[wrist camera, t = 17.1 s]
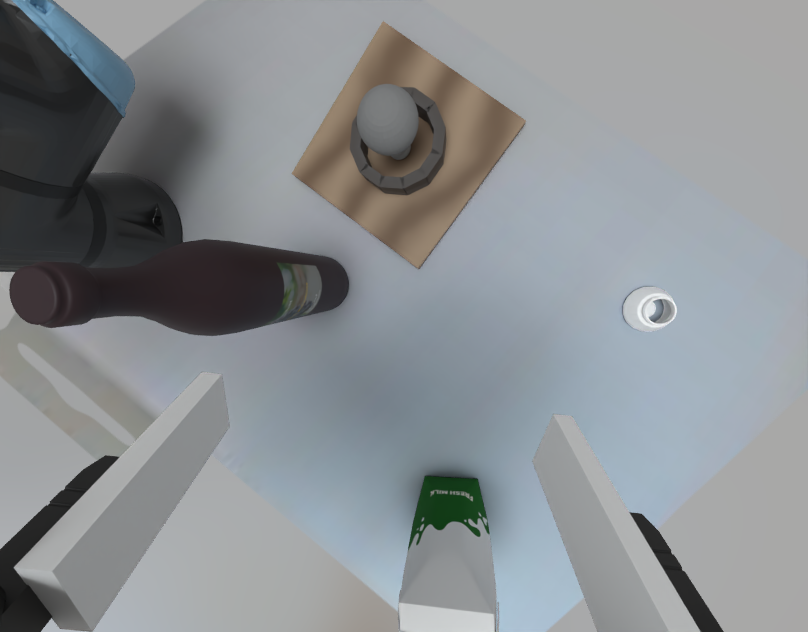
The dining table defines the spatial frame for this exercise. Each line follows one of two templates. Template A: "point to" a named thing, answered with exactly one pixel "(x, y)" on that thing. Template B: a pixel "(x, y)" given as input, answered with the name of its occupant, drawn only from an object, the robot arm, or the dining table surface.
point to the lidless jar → (648, 309)
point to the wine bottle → (185, 288)
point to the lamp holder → (429, 155)
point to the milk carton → (449, 562)
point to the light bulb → (388, 120)
